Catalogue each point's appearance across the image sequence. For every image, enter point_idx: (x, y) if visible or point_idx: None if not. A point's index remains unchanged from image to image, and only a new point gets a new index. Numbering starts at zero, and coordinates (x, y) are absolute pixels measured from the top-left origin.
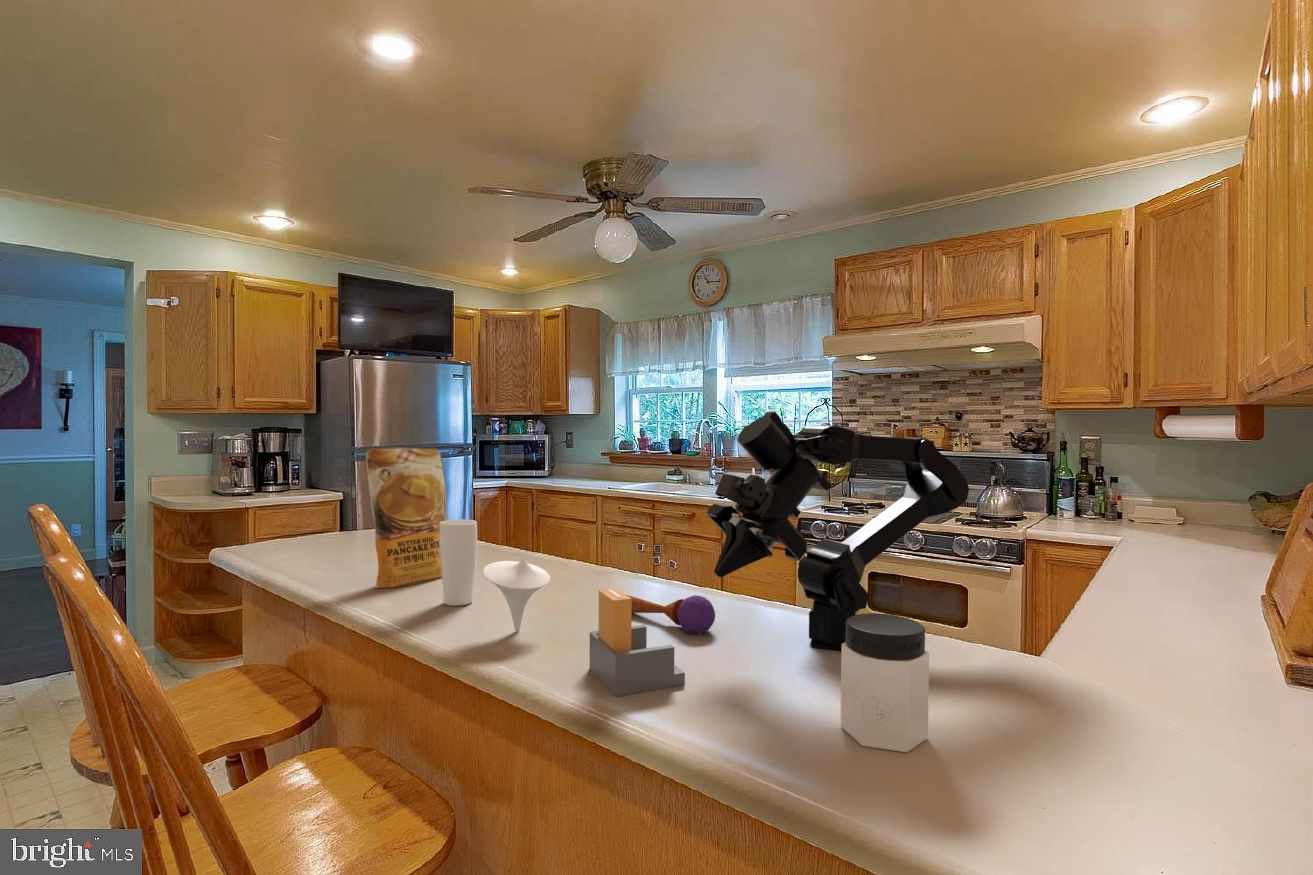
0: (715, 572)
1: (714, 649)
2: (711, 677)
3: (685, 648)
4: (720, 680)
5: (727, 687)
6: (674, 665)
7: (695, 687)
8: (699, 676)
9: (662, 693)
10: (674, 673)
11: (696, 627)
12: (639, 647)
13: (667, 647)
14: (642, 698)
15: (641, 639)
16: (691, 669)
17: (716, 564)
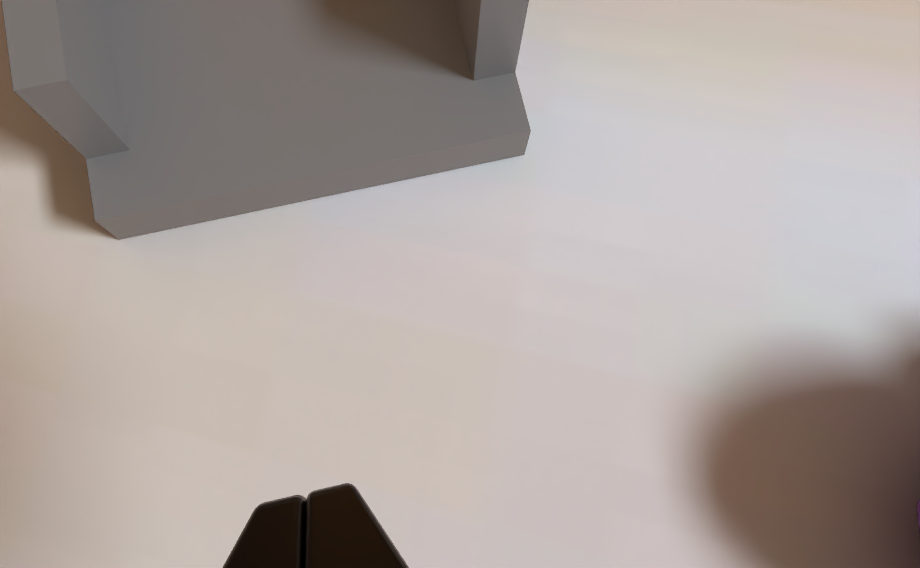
0: (307, 497)
1: (628, 561)
2: (177, 409)
3: (670, 377)
4: (121, 448)
5: (16, 458)
6: (220, 190)
7: (66, 285)
8: (208, 345)
9: None
10: (100, 163)
11: (917, 505)
12: (463, 24)
13: (18, 46)
14: None
15: (468, 10)
16: (320, 327)
17: (392, 549)
